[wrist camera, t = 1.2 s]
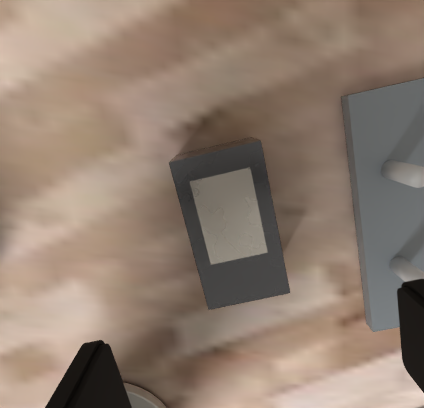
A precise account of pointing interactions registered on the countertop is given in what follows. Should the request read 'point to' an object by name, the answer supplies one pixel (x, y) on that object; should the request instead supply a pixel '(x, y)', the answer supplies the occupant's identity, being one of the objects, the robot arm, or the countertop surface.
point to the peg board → (387, 192)
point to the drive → (231, 222)
